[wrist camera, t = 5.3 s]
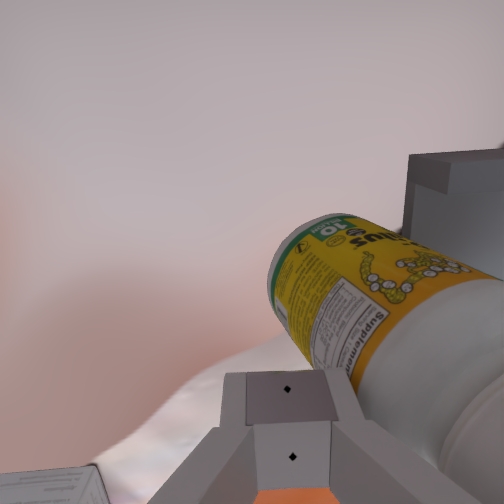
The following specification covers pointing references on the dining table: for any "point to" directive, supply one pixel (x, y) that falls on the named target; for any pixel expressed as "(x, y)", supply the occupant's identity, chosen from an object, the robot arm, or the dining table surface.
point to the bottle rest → (458, 206)
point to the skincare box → (53, 487)
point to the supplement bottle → (402, 339)
